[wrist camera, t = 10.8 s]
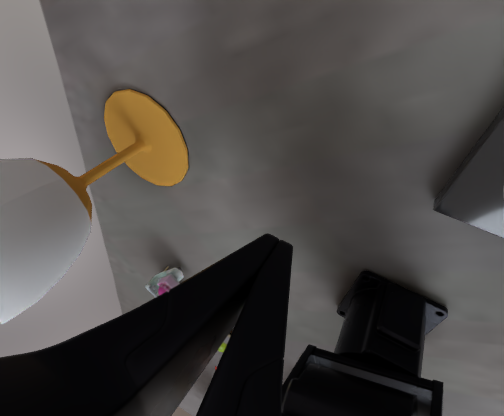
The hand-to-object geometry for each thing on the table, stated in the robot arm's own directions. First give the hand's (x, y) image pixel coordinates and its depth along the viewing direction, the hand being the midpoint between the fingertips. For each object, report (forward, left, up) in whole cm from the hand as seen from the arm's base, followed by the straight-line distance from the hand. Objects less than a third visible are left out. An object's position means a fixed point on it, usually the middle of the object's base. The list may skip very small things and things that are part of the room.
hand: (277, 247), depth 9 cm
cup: (-9, +16, -12) cm, 22 cm away
